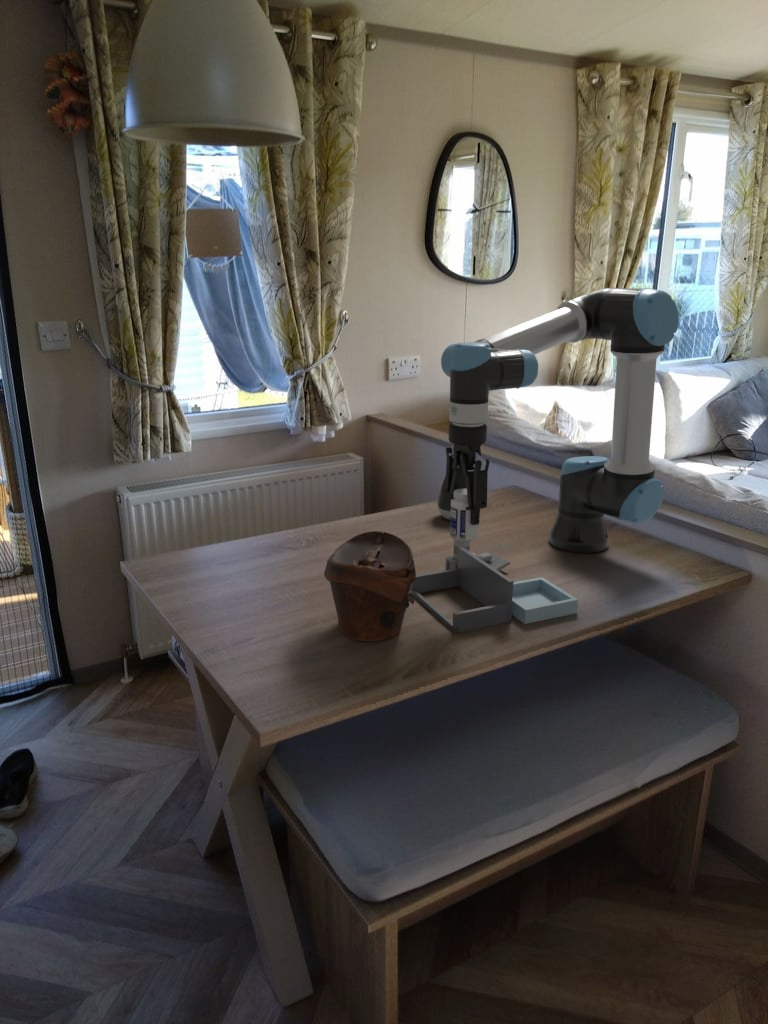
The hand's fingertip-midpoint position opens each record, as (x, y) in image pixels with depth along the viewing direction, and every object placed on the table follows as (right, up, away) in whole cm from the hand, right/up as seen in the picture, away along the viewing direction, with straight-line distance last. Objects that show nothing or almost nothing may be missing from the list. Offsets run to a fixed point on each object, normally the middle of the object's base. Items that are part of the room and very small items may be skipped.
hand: (463, 533), depth 155 cm
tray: (+16, -16, +5) cm, 23 cm away
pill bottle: (0, -1, 0) cm, 1 cm away
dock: (-1, -16, +5) cm, 17 cm away
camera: (+5, -10, +23) cm, 26 cm away
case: (-19, -19, -5) cm, 27 cm away
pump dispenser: (+4, +2, +62) cm, 62 cm away
